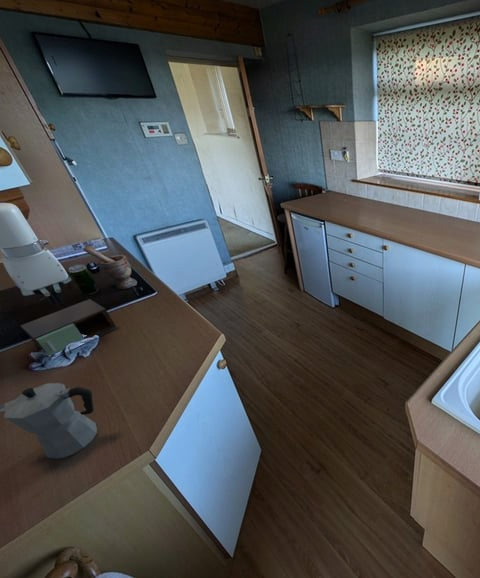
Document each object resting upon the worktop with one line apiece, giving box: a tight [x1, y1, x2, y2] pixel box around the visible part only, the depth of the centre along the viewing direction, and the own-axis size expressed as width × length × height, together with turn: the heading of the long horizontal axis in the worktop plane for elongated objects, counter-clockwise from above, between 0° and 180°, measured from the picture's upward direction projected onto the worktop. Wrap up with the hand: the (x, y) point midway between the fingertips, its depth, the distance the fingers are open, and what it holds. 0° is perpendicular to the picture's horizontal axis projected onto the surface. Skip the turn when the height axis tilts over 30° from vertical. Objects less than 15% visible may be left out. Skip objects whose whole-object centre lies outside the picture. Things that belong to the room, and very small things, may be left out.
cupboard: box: [20, 298, 120, 353], centre depth 99 cm, size 18×14×8 cm
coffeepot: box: [0, 382, 98, 460], centre depth 66 cm, size 15×9×18 cm, turn 111°
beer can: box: [68, 264, 100, 296], centre depth 122 cm, size 5×5×12 cm
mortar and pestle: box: [82, 245, 138, 290], centre depth 124 cm, size 12×9×20 cm
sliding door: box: [36, 323, 84, 356], centre depth 93 cm, size 9×2×7 cm, turn 151°
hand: (59, 303), depth 90 cm, fingers closed
